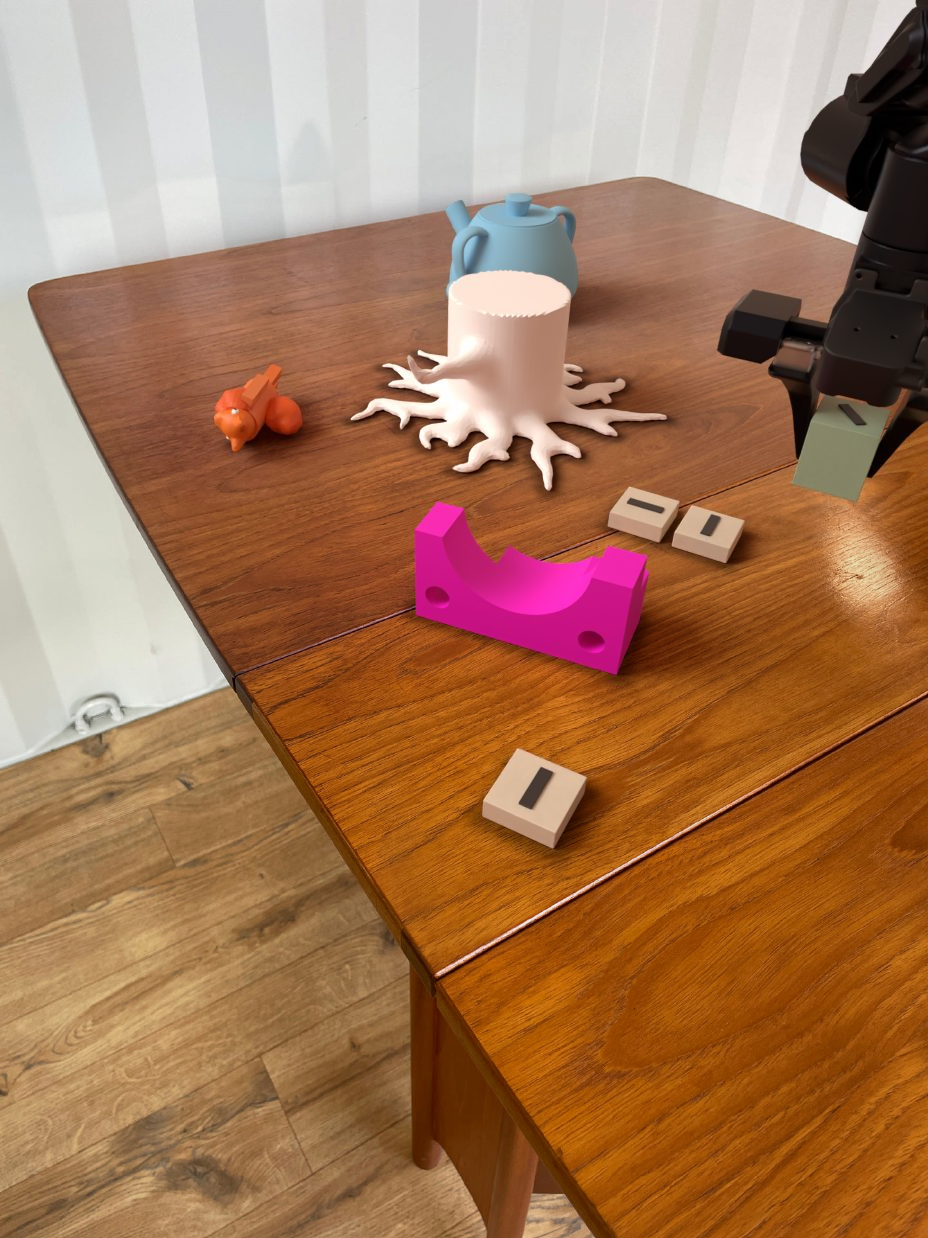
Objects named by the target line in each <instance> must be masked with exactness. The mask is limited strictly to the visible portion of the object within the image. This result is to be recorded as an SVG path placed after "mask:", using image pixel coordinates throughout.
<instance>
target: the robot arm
mask: <svg viewBox="0 0 928 1238" xmlns="http://www.w3.org/2000/svg"><path fill="white" fill-rule="evenodd" d="M799 157H800V158H799V159H800V165H801V168H802V172H803V173H804V174H803V175H805V176H806V178H807V179H808V181H810V182H811V183H813V184H815V186H818V187H819V188H821V189H823V190H824V191H826V192H828V193H829V194H831V195H832V196H834V197H836V198H838V199H840V200H841V201H843V202H844V203H846V204H847V205H849V206H851V207H853V208H854V209H856V210H857V211H860V212H865V213H866V216H865V219H864V221H863V226H862V229H861V232H860V235H859V239H858V241H857V245H856V249H855V252H854V255H853V259H852V262H851V265H850V268H849V272H848V275H847V278H846V281H845V285H844V288H843V291H842V294H841V295H840V296H839V298H837V301H836V302H835V304H834V305H833V307H832V310H831V312H830V315H829V316H830V317H829V319H828V322H825V321H819V320H815V319H811V318H805V317H801V316H800V314H801V311H802V302H803V299H802V298H798V297H793V296H789V295H783V294H778V293H773V292H769V291H765V290H759V289H754V288H753V289H751V290H749V291H748V292H747V293H745V294H743V295H742V296H741V297H740V298H739V299H738V300H737V302H736V303H735V304H734V306H733V307H732V308H731V309H730V310H729V312H728V313H727V314H726V315H725V317H724V321H723V324H722V326H721V330H720V334H719V338H718V343H717V347H716V351H717V352H718V353H719V354H720V355H722V356H725V357H728V358H733V359H737V360H742V361H746V362H751V363H754V364H759V365H762V364H763V363H766V362H767V361H769V360H770V359H772V358H773V359H772V361H771V363H770V364H769V366H768V368H767V374H768V376H769V377H771V378H774V379H777V380H780V381H781V383H782V385H784V387H785V389H786V391H787V394H788V398H789V403H790V408H791V413H792V414H791V415H792V427H793V438H794V451H795V459H796V460H799V458H800V455H801V452H802V448H803V445H804V442H805V439H806V436H807V432H808V429H809V426H810V423H811V420H812V418H813V416H814V414H815V412H816V410H817V408H818V406H819V405H818V404H819V401H820V400H819V399H820V395H821V394H822V395H828V396H833V397H837V396H840V397H843V398H849V399H853V400H857V401H862V402H864V403H866V404H867V405H871V406H875V407H880V408H889V407H891V406H893V405H895V404H896V403H897V402H898V400H899V398H900V395H901V393H902V390H906V391H905V394H904V395H903V397H902V399H901V401H900V402H899V404H898V407H897V408H896V411H895V412H894V414H893V416H892V418H891V420H890V422H889V424H888V426H887V427H886V428H885V430H884V432H883V434H882V437H881V440H880V442H879V445H878V448H877V450H876V453H875V456H874V458H873V461H872V464H871V466H870V469H869V472H868V474H867V477H866V479H867V478H868V479H873V478H874V476H875V475H876V474H877V473H878V472H879V471H880V469H881V468H882V467H883V466H884V465H885V464H886V463H887V461H888V460H889V459H890V458H891V457H892V455H893V454H894V453H895V452H896V451H897V450H898V449H899V448H900V446H902V444H903V443H904V442H905V441H906V440H907V439H908V438H909V437H910V436H911V435H912V434H913V433H914V432H916V430H918V429H920V427H921V426H922V425H923V424H925V423H927V422H928V0H915V6H914V7H912V8H911V10H909V12H908V13H907V14H906V15H905V16H904V18H903V19H902V21H901V22H900V23H899V25H898V26H897V28H896V29H895V30H894V32H893V33H892V35H891V36H890V38H889V39H888V41H886V43H885V45H884V46H883V48H882V49H881V51H880V52H879V53H878V54H877V56H876V58H875V59H874V60H873V62H872V63H871V65H870V66H869V67H868V68H867V69H866V70H865V72H864V73H863V72H862V73H861V72H859V73H857V72H856V73H854V72H853V73H852V72H851V73H850V74H849V75H848V76H847V79H846V82H845V87H844V90H843V94H842V95H839V96H838V97H836V98H834V99H832V100H831V101H829V102H828V103H827V104H826V105H825V106H824V107H822V109H820V111H819V112H818V113H817V114H816V115H815V117H814V119H812V122H811V123H810V125H809V127H808V129H806V131H805V132H804V133H803V136H802V141H801V144H800V152H799Z"/></svg>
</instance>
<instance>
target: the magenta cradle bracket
mask: <svg viewBox="0 0 928 1238" xmlns="http://www.w3.org/2000/svg"><path fill="white" fill-rule="evenodd" d="M647 560H648V555H646V554H642V553H639V552H634V551H630V550H628V549H627V550H626V549H622V548H619V547H615V546H611V545H607V546H606V549H605V550H604V553H603V554H602V556H601V557H599V556H594V555H592V556H590V557H588V558H586V559H582V560H580V561H575V562H568V563H556V562H555V563H554V562H548V561H544V560H540V559H537V558H534V557H530V556H529V555H526V554H524V553H522V552H520V551H519V550H517V549H515V547H513V546H511V545H510V544H509V545H508V547H507V548H506V549H505V551H504V552H503V554H502V556H501V557H500V558H499V560H498V562H495V561H494V560H493V559H492V558H491V557H490V556H489V555H488V554H487V553H486V552H485V551H484V550H483V549H482V547H481V546H480V545H479V543H478V542H477V540H476V539H475V537H474V535H473V533H472V531H471V529H470V526H469V524H468V521H467V517H466V510H465V508H463V507H459V506H455V505H451V504H447V503H444V502H440V501H437V502H436V503H435V504H434V506H433V507H432V508H431V509H430V510H429V511H428V512H427V514H426V515H425V517H424V518H423V519H422V520H421V521H420V523H419V524H418V525H417V526H416V528H415V529H414V575H415V577H414V579H415V581H414V583H415V589H414V590H415V615H416V616H417V617H422V618H425V619H428V620H432V621H434V622H438V623H441V624H445V625H448V626H451V627H455V628H457V629H458V628H459V629H461V630H464V631H468V632H471V633H475V634H478V635H482V636H485V637H488V638H492V639H494V640H495V639H496V640H498V641H502V642H505V643H508V644H512V645H515V646H518V647H522V648H525V649H529V650H531V651H534V652H538V653H542V654H546V655H549V656H552V657H555V658H559V659H561V660H565V661H569V662H572V663H575V664H579V665H582V666H585V667H588V668H592V669H596V670H599V671H602V672H605V673H608V674H612V675H615V676H616V675H617V674H618V672H619V670H620V668H621V665H622V663H623V661H624V657H625V655H626V653H627V651H628V649H629V646H630V644H631V642H632V638H633V636H634V634H635V632H636V630H637V627H638V624H639V622H640V619H641V614H642V610H643V605H644V600H645V595H646V590H647V585H648V580H649V575H650V570H647V569H646V566H647Z"/></svg>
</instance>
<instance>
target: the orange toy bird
mask: <svg viewBox="0 0 928 1238" xmlns="http://www.w3.org/2000/svg"><path fill="white" fill-rule="evenodd" d="M282 372H283V367H281V366H279V365H276V364H274V363H271V364H270V365H269V366H268V368H267V369H266V371H264V373H263V374H261V373H257V374H256V375H255V376H254V378H251V379H249V380H248V381H247V382H246V383H245V384H244V386H243V387H237V388H233V389H227V390H225V391H223V394H222V396H221V397H220V399H219V400H218V401H217V402H216V404H215V407H214V412H215V414H214V416H213V417H212V420H213V422H214V424H215V425H216V427H217V428H218V429H219V430H220V431H221V432H222V433H223V434H224V436H225V438H226V439H227V440H228V441H230V443H231V444H230V445H231V451H232V452H234V453H239V452H240V450H241V449H242V448H243V446H244V445H245V444H246V442H248V441H249V442H250V441H251V440H253V439H255V437H256V436H257V435H258V433H259V432H260V431H261V429H262V427H263V426H264V425H266V426H267V427H268V428H269V429H270V430H271V431H272V432H274V433H277V434H281V435H285V436H288V435H294V434H296V433H297V432H299V430H300V428H301V427H302V425H303V415H302V411H301V407H300V406H299V405H298V403H297V402H295V401H294V400H293V399H291V398H290V397H289V396H286V395H279V392H278V390H277V388H278V384H279V382H278V381H279V380H280V378H281V376H282V374H283V373H282Z"/></svg>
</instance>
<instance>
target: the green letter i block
mask: <svg viewBox="0 0 928 1238" xmlns="http://www.w3.org/2000/svg"><path fill="white" fill-rule="evenodd" d="M818 404H819V405H817V410H816V412H815V414H814V416H813V418H812V420H811V423H810V426H809V429H808V432H807V436H806V439H805V442H804V445H803V448H802V452H801V455H800V458H799V459H798V462H797V465H796V468H795V471H794V475H793V477H792V480H791V485H793V486H796V487H800V488H803V489H807V490H811V491H814V492H818V493H822V494H825V495H829V496H833V497H836V498H839V499H843V500H846V501H847V500H848V501H849V502H854V503H858V501H859V499H860V496H861V492H862V490H863V488H864V485H865V483H866V480H867V474H868V472H869V469H870V466H871V464H872V461H873V458H874V456H875V453H876V450H877V448H878V445H879V443H880V441H881V439H882V437H883V435H884V433H885V430H886V426H887V423H888V421H889V418H890V415H891V412H892V410H891V409H888V408H885V407H875V406H871V405H868V404H867V403H862V402H858V401H854V400H850V399H846V398H843V397H839V396H838V397H837V396H834V397H833V396H828V395H825V394H823V396H822V398H821V401H820V403H818Z"/></svg>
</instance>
